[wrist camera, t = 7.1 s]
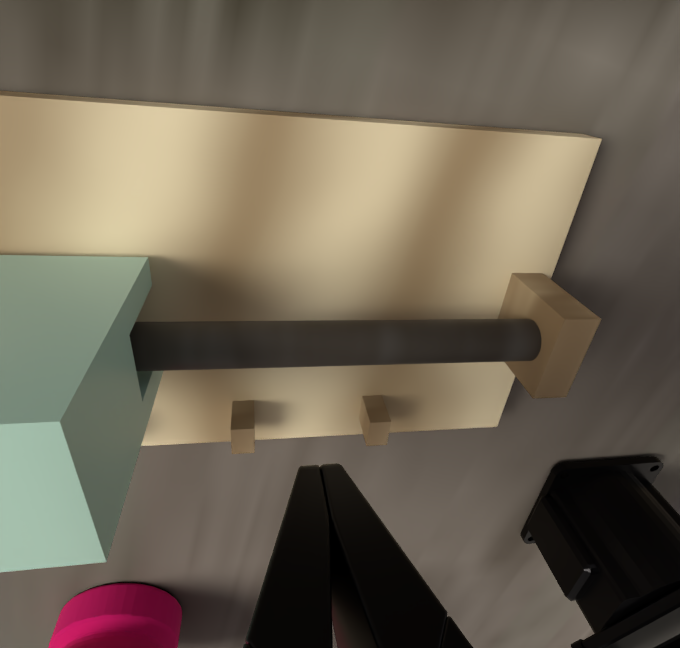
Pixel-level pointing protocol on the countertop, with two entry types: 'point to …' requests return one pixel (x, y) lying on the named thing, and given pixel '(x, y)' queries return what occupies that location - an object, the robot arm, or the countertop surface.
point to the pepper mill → (119, 618)
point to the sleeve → (68, 404)
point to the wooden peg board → (311, 259)
